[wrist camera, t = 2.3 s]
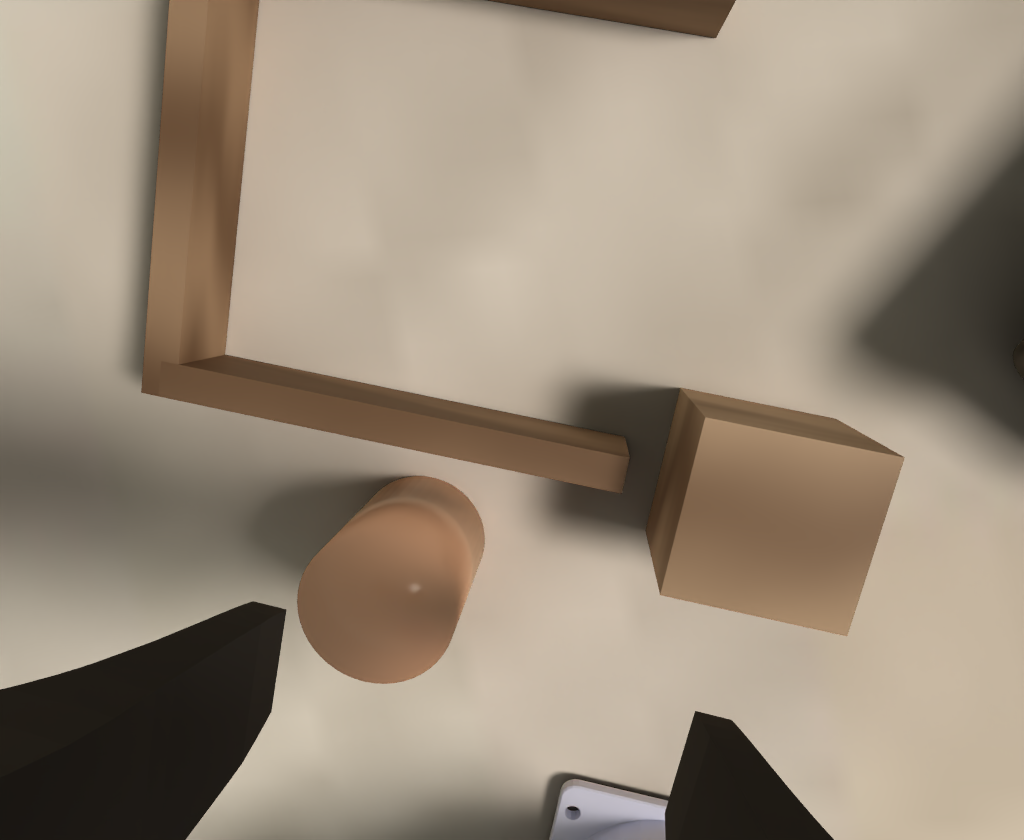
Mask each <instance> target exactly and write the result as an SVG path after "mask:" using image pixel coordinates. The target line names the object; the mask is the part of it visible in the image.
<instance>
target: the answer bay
mask: <svg viewBox="0 0 1024 840" xmlns="http://www.w3.org/2000/svg"><path fill="white" fill-rule="evenodd" d="M490 1H496V2H502V3H508V4H514V5H520V6H526V7H532V8H538V9H544V10H550V11H556V12H562V13H568V14H574V15H580V16H586V17H593V18H599V19H605V20H611V21H617V22H623V23H629V24H635V25H641V26H647V27H653V28H659V29H665V30H671V31H677V32H683V33H689V34H695V35H701V36H707V37H713V38H716V37H717V35H718V33H719V31H720V29H721V27H722V26H723V24H724V22H725V20H726V18H727V16H728V14H729V12H730V10H731V9H732V7H733V5H734V3H735V1H736V0H490ZM258 7H259V0H169V13H168V27H167V41H166V55H165V69H164V83H163V97H162V111H161V125H160V139H159V153H158V167H157V181H156V195H155V209H154V223H153V237H152V251H151V265H150V279H149V293H148V307H147V321H146V335H145V349H144V363H143V377H142V391H141V393H146V394H150V395H155V396H160V397H165V398H169V399H174V400H179V401H184V402H188V403H193V404H198V405H203V406H207V407H212V408H217V409H222V410H226V411H231V412H236V413H241V414H245V415H250V416H255V417H260V418H264V419H269V420H274V421H279V422H283V423H288V424H293V425H298V426H302V427H307V428H312V429H317V430H321V431H326V432H331V433H336V434H340V435H345V436H350V437H355V438H359V439H364V440H369V441H374V442H378V443H383V444H388V445H393V446H397V447H402V448H407V449H412V450H416V451H421V452H426V453H431V454H435V455H440V456H445V457H450V458H454V459H459V460H464V461H469V462H473V463H478V464H483V465H488V466H492V467H497V468H502V469H507V470H511V471H516V472H521V473H526V474H530V475H535V476H540V477H545V478H549V479H554V480H559V481H563V482H568V483H573V484H578V485H582V486H587V487H592V488H597V489H601V490H606V491H611V492H616V493H620V494H622V490H623V485H624V481H625V477H626V472H627V468H628V464H629V459H630V456H629V452H628V448H627V444H626V440H625V437H623V436H618V435H613V434H608V433H603V432H599V431H594V430H589V429H584V428H579V427H574V426H569V425H564V424H560V423H555V422H550V421H545V420H540V419H535V418H530V417H525V416H521V415H516V414H511V413H506V412H501V411H496V410H491V409H486V408H482V407H477V406H472V405H467V404H462V403H457V402H452V401H447V400H443V399H438V398H433V397H428V396H423V395H418V394H413V393H408V392H404V391H399V390H394V389H389V388H384V387H379V386H374V385H369V384H365V383H360V382H355V381H350V380H345V379H340V378H335V377H330V376H326V375H321V374H316V373H311V372H306V371H301V370H296V369H291V368H287V367H282V366H277V365H272V364H267V363H262V362H257V361H252V360H248V359H243V358H238V357H233V356H228V355H225V348H226V338H227V327H228V317H229V307H230V296H231V286H232V276H233V265H234V255H235V245H236V234H237V224H238V214H239V203H240V193H241V183H242V172H243V162H244V152H245V141H246V131H247V121H248V110H249V100H250V90H251V79H252V69H253V59H254V48H255V38H256V28H257V17H258Z"/></svg>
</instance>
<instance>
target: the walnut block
mask: <svg viewBox="0 0 1024 840" xmlns="http://www.w3.org/2000/svg"><path fill="white" fill-rule="evenodd" d="M903 461H904V457H903V456H901V455H899V454H897V453H896V452H894V451H892V450H890V449H888V448H887V447H885V446H883V445H881V444H880V443H878V442H876V441H874V440H872V439H871V438H869V437H867V436H865V435H864V434H862V433H860V432H858V431H857V430H855V429H853V428H851V427H849V426H848V425H846V424H844V423H842V422H841V421H839V420H837V419H834V418H829V417H824V416H819V415H814V414H809V413H804V412H799V411H794V410H789V409H784V408H779V407H774V406H769V405H764V404H759V403H754V402H749V401H744V400H739V399H734V398H729V397H724V396H719V395H714V394H709V393H704V392H699V391H694V390H689V389H684V388H680V391H679V395H678V400H677V404H676V408H675V412H674V416H673V420H672V424H671V428H670V432H669V437H668V441H667V445H666V449H665V453H664V457H663V461H662V465H661V469H660V473H659V478H658V482H657V486H656V490H655V494H654V498H653V502H652V506H651V510H650V515H649V519H648V523H647V527H646V535H647V539H648V544H649V548H650V552H651V557H652V561H653V566H654V570H655V574H656V579H657V583H658V588H659V592H660V595H663V596H667V597H672V598H676V599H681V600H685V601H690V602H694V603H699V604H703V605H708V606H712V607H717V608H721V609H726V610H730V611H735V612H740V613H744V614H749V615H753V616H758V617H762V618H767V619H771V620H776V621H780V622H785V623H789V624H794V625H798V626H803V627H807V628H812V629H817V630H821V631H826V632H830V633H835V634H839V635H844V636H847V635H848V632H849V629H850V626H851V622H852V619H853V616H854V613H855V610H856V607H857V604H858V601H859V598H860V594H861V591H862V588H863V585H864V582H865V579H866V576H867V573H868V570H869V567H870V563H871V560H872V557H873V554H874V551H875V548H876V545H877V542H878V539H879V536H880V532H881V529H882V526H883V523H884V520H885V517H886V514H887V511H888V508H889V504H890V501H891V498H892V495H893V492H894V489H895V486H896V483H897V480H898V477H899V473H900V470H901V467H902V464H903Z"/></svg>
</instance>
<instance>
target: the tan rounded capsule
mask: <svg viewBox="0 0 1024 840" xmlns="http://www.w3.org/2000/svg"><path fill="white" fill-rule="evenodd" d="M484 544H485V534H484V528H483V524H482V521H481V518H480V516H479V514H478V511H477V510H476V508H475V506H474V505H473V504H472V502H471V501H470V500H469V499H468V497H466V496H465V495H464V494H463V493H462V492H461V491H460V490H458V489H457V488H456V487H454V486H452V485H451V484H449V483H447V482H445V481H442V480H439V479H436V478H432V477H426V476H412V477H406V478H402V479H398V480H396V481H393V482H391V483H390V484H388V485H386V486H385V487H383V488H382V489H381V490H379V491H378V492H377V493H376V494H375V495H374V496H373V497H372V498H371V500H370V501H369V502H368V503H367V504H366V505H365V506H364V507H363V508H362V509H361V510H360V511H359V512H358V513H357V514H356V515H355V516H354V517H353V518H352V519H351V520H350V521H349V522H348V523H347V524H346V525H345V526H344V527H343V528H342V529H341V530H340V531H339V532H338V533H337V534H336V535H335V536H334V537H333V538H332V539H331V540H330V541H329V542H328V543H327V544H326V545H325V546H324V547H323V548H322V549H321V550H320V551H319V552H318V553H317V554H316V555H315V556H314V557H313V559H312V560H311V561H310V563H309V564H308V566H307V567H306V569H305V571H304V573H303V575H302V578H301V581H300V585H299V590H298V599H297V604H298V614H299V619H300V623H301V625H302V628H303V631H304V633H305V635H306V637H307V639H308V641H309V642H310V644H311V645H312V647H313V648H314V649H315V651H316V652H317V653H318V654H319V655H320V656H321V657H322V658H323V659H324V660H325V661H326V662H327V663H328V664H330V665H331V666H332V667H334V668H335V669H336V670H338V671H340V672H342V673H343V674H345V675H348V676H350V677H352V678H355V679H358V680H361V681H365V682H371V683H382V684H387V683H397V682H402V681H406V680H409V679H412V678H414V677H416V676H418V675H420V674H422V673H424V672H425V671H427V670H428V669H430V668H431V667H432V666H433V665H434V664H435V663H436V662H437V661H438V660H439V659H440V658H441V657H442V655H443V654H444V652H445V651H446V649H447V647H448V646H449V643H450V641H451V639H452V636H453V633H454V631H455V628H456V625H457V623H458V620H459V617H460V615H461V612H462V609H463V607H464V604H465V601H466V599H467V596H468V593H469V591H470V588H471V585H472V583H473V580H474V577H475V575H476V572H477V569H478V567H479V564H480V561H481V559H482V555H483V551H484Z"/></svg>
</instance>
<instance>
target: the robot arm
mask: <svg viewBox="0 0 1024 840" xmlns="http://www.w3.org/2000/svg"><path fill="white" fill-rule="evenodd" d="M285 615H286V609H282V608H278V607H274V606H270V605H266V604H261V603H257V602H250V603H247V604H244V605H241V606H239V607H236V608H234V609H231V610H229V611H226V612H224V613H221V614H219V615H216V616H214V617H212V618H209V619H207V620H205V621H202V622H200V623H197V624H195V625H193V626H190V627H188V628H185V629H183V630H180V631H178V632H175V633H173V634H171V635H168V636H166V637H163V638H161V639H158V640H156V641H153V642H151V643H148V644H145V645H143V646H140V647H137V648H134V649H132V650H129V651H126V652H123V653H121V654H118V655H115V656H112V657H110V658H107V659H104V660H101V661H99V662H96V663H93V664H90V665H87V666H84V667H81V668H78V669H74V670H71V671H68V672H65V673H61V674H58V675H54V676H51V677H47V678H43V679H40V680H36V681H33V682H29V683H25V684H22V685H18V686H14V687H10V688H5V689H1V690H0V840H185V839H186V838H187V837H188V835H189V834H190V833H191V831H192V830H193V829H194V827H195V826H196V825H197V823H198V822H199V821H200V819H201V818H202V817H203V815H204V814H205V813H206V811H207V810H208V809H209V807H210V806H211V805H212V803H213V802H214V801H215V799H216V798H217V797H218V795H219V794H220V793H221V791H222V790H223V789H224V787H225V786H226V785H227V783H228V782H229V780H230V779H231V778H232V776H233V775H234V774H235V772H236V771H237V770H238V768H239V767H240V765H241V764H242V762H243V761H244V759H245V757H246V756H247V754H248V752H249V750H250V749H251V747H252V745H253V744H254V742H255V740H256V738H257V737H258V735H259V733H260V731H261V729H262V728H263V726H264V724H265V722H266V720H267V718H268V717H269V715H270V713H271V710H272V703H273V696H274V690H275V683H276V676H277V669H278V662H279V656H280V649H281V642H282V635H283V629H284V622H285ZM569 806H575V807H577V808H579V809H578V810H576V811H571V810H569V809H567V807H569ZM549 840H834V839H833V838H832V837H831V836H830V835H829V834H828V833H827V832H826V830H825V829H824V828H823V827H822V826H821V825H820V824H819V823H818V822H817V820H816V819H815V818H814V817H813V816H812V815H811V814H810V812H809V811H808V810H807V809H806V808H805V807H804V806H803V804H802V803H801V802H800V801H799V800H798V799H797V797H796V796H795V795H794V794H793V793H792V791H791V790H790V789H789V788H788V787H787V785H786V784H785V783H784V782H783V781H782V779H781V778H780V777H779V776H778V775H777V773H776V772H775V771H774V770H773V769H772V767H771V766H770V765H769V764H768V762H767V761H766V760H765V759H764V758H763V756H762V755H761V754H760V753H759V751H758V750H757V749H756V748H755V747H754V745H753V744H752V743H751V742H750V741H749V739H748V738H747V737H746V736H745V735H744V733H743V732H742V731H741V730H740V729H739V728H738V727H737V725H736V724H735V723H734V722H733V721H732V720H729V719H725V718H721V717H717V716H713V715H709V714H705V713H701V712H697V711H695V714H694V717H693V720H692V724H691V727H690V730H689V734H688V737H687V740H686V744H685V747H684V750H683V754H682V757H681V760H680V764H679V767H678V770H677V774H676V777H675V780H674V784H673V787H672V790H671V794H670V797H669V800H668V801H667V800H663V799H659V798H655V797H650V796H646V795H642V794H638V793H634V792H629V791H625V790H621V789H617V788H613V787H608V786H604V785H600V784H596V783H592V782H588V781H583V780H579V779H572V780H568V781H567V782H565V783H564V784H563V786H562V788H561V791H560V795H559V799H558V804H557V808H556V812H555V816H554V821H553V825H552V829H551V834H550V838H549Z"/></svg>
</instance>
